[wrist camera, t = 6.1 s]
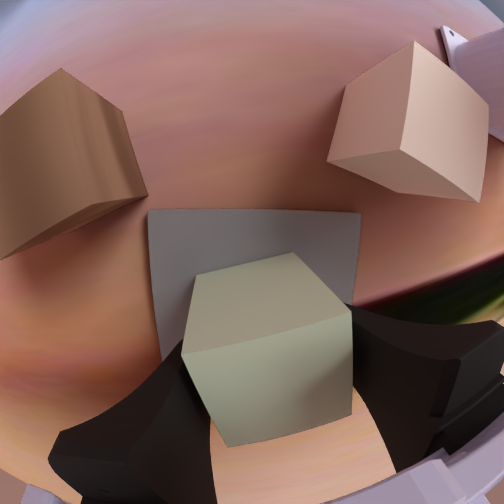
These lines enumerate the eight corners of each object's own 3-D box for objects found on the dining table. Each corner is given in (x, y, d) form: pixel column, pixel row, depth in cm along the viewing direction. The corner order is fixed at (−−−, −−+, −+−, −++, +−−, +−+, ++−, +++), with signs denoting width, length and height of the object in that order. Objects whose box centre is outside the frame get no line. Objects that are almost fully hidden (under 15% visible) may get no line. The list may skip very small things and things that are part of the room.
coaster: (356, 212, 13) (361, 213, 13) (332, 375, 15) (335, 380, 15) (150, 209, 12) (147, 210, 11) (168, 383, 14) (167, 390, 14)
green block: (293, 252, 12) (351, 311, 7) (306, 333, 14) (351, 414, 8) (196, 275, 12) (181, 355, 6) (221, 354, 13) (227, 447, 8)
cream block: (411, 121, 12) (488, 105, 7) (396, 192, 13) (479, 203, 7) (345, 85, 12) (413, 40, 6) (326, 161, 12) (399, 149, 7)
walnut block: (122, 111, 11) (60, 67, 5) (148, 195, 12) (92, 204, 6) (51, 152, 11) (-27, 143, 5) (74, 230, 12) (-1, 261, 6)
